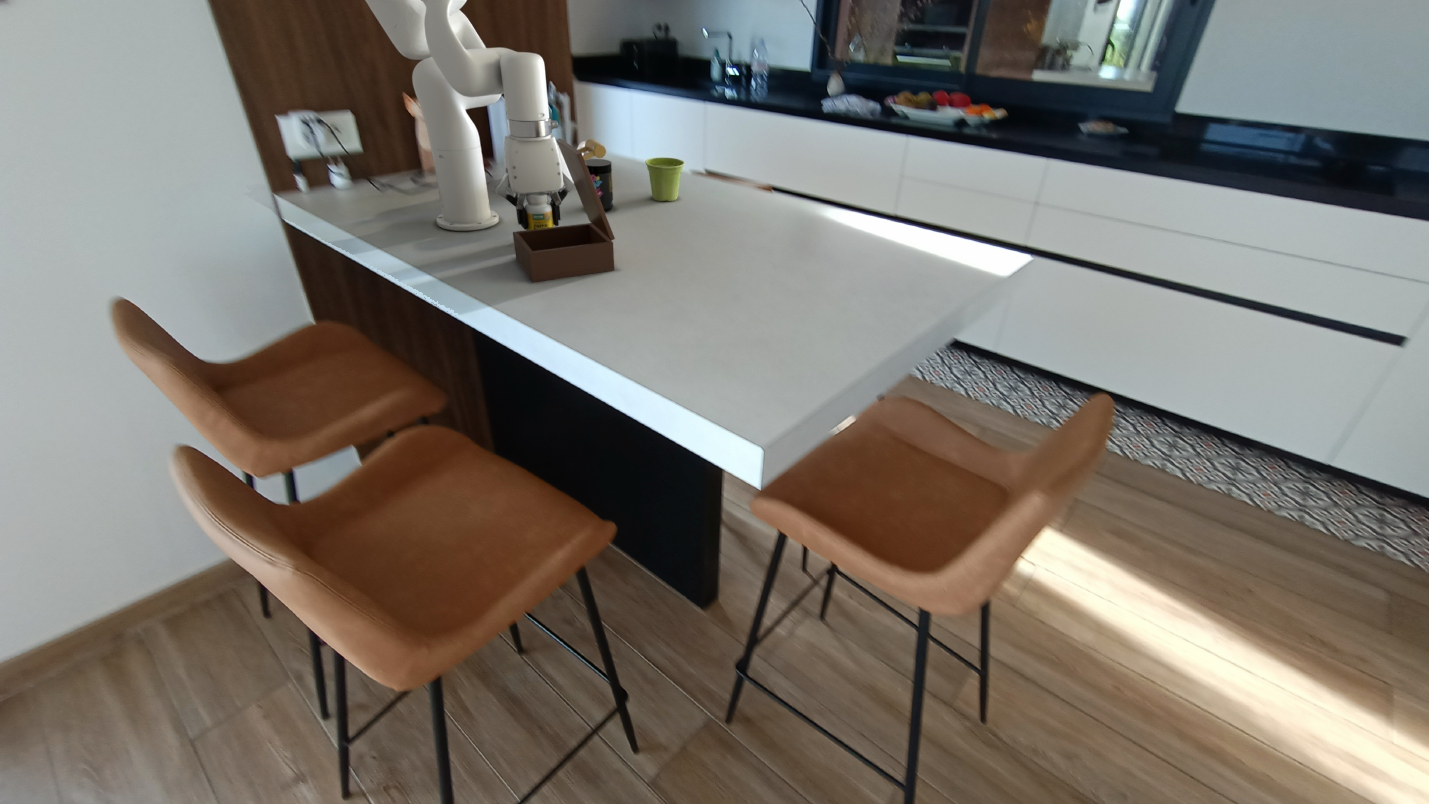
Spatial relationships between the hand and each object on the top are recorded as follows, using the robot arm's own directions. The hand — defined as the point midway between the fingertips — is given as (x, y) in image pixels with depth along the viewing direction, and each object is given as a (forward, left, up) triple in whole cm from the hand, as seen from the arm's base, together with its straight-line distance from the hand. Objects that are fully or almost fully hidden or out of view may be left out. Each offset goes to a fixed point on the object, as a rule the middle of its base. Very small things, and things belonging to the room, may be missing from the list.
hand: (539, 224), depth 131 cm
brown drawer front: (+15, +1, +10) cm, 18 cm away
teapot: (-34, +23, -4) cm, 41 cm away
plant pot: (-10, +40, -4) cm, 41 cm away
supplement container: (-12, +22, -4) cm, 25 cm away
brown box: (+13, -3, -3) cm, 14 cm away
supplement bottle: (0, 0, -4) cm, 4 cm away
